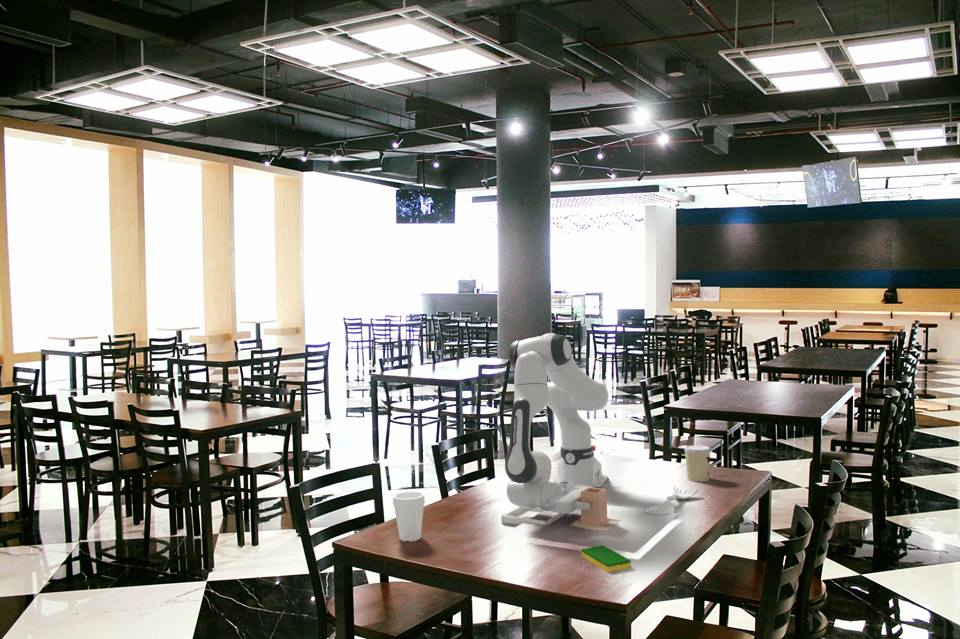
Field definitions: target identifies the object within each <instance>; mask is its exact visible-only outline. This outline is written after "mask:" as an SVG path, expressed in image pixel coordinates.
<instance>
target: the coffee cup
mask: <svg viewBox="0 0 960 639" xmlns="http://www.w3.org/2000/svg"><path fill="white" fill-rule="evenodd" d="M684 456H685V457H684V458H685V467H686V477H687V480H688V479H689V480H688V481H690V480H691V481H690V482H694V481H699V483H700V482H701V483H703V481H705V482H707V481H709V478H710V461H711V449H710V447H709V446H706V445H701V444H700V445H696V444H694V445H687V446H685V448H684Z"/></svg>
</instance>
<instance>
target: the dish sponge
mask: <svg viewBox="0 0 960 639" xmlns="http://www.w3.org/2000/svg"><path fill="white" fill-rule="evenodd" d="M581 558H583V559H585V560H586V561H588V562H590V563H592V564H593V565H595V566H596V567H598V568H600V569H602V570H603V571H605V572H607V573H613V572H617V571H621V570H627V569H631V567H632V566H631V565H632V563H631V562H632V560H631V559H629V558H627V557H625V556H624V555H622V554H620V553H619V552H616V551H615V550H613V549H611V548H609V547H607V546H605V545H597V546H591V547H586V548H581Z"/></svg>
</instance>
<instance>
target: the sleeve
mask: <svg viewBox="0 0 960 639" xmlns="http://www.w3.org/2000/svg"><path fill="white" fill-rule="evenodd" d="M580 495H581V502H590V503H591V508H590V509H580V518H581V524H582V525H589V526H596V527H601V526H602V525H603V524H605V523H606V522H607V518H608V499H607V498H608V497H607V496H608V494H607V489H606V488H601V487H593V488H591V487H588V488H586V489H584V490H583V491H581V492H580Z"/></svg>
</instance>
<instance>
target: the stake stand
mask: <svg viewBox="0 0 960 639" xmlns="http://www.w3.org/2000/svg"><path fill="white" fill-rule="evenodd" d="M620 521H621V520H620V519H615V518H608V517H607V522H606V523H605V524H603V525H602V526H601V527H596V526H589V525H582V524H581V517H580V518H577V520H575V521H573V522H572V523H571V524H569V525H568V527H571V528H573V527H574V528H579V529H585V530H586V529H587V530H594V531H602V532H607V531H608V530H609V529H611V528H612V527H613V526H615V525H616V524H617V523H619V522H620Z"/></svg>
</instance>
